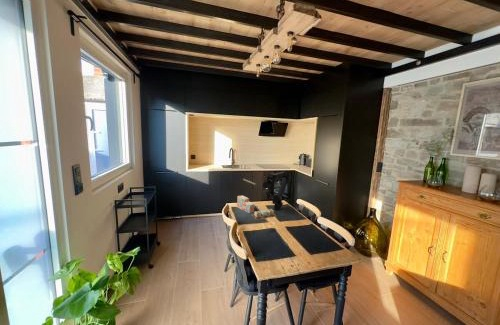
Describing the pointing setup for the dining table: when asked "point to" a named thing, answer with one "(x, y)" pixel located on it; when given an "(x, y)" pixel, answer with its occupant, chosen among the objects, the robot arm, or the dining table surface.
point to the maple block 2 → (270, 211)
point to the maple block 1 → (257, 213)
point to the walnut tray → (264, 216)
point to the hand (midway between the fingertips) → (270, 202)
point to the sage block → (263, 212)
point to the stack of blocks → (245, 204)
